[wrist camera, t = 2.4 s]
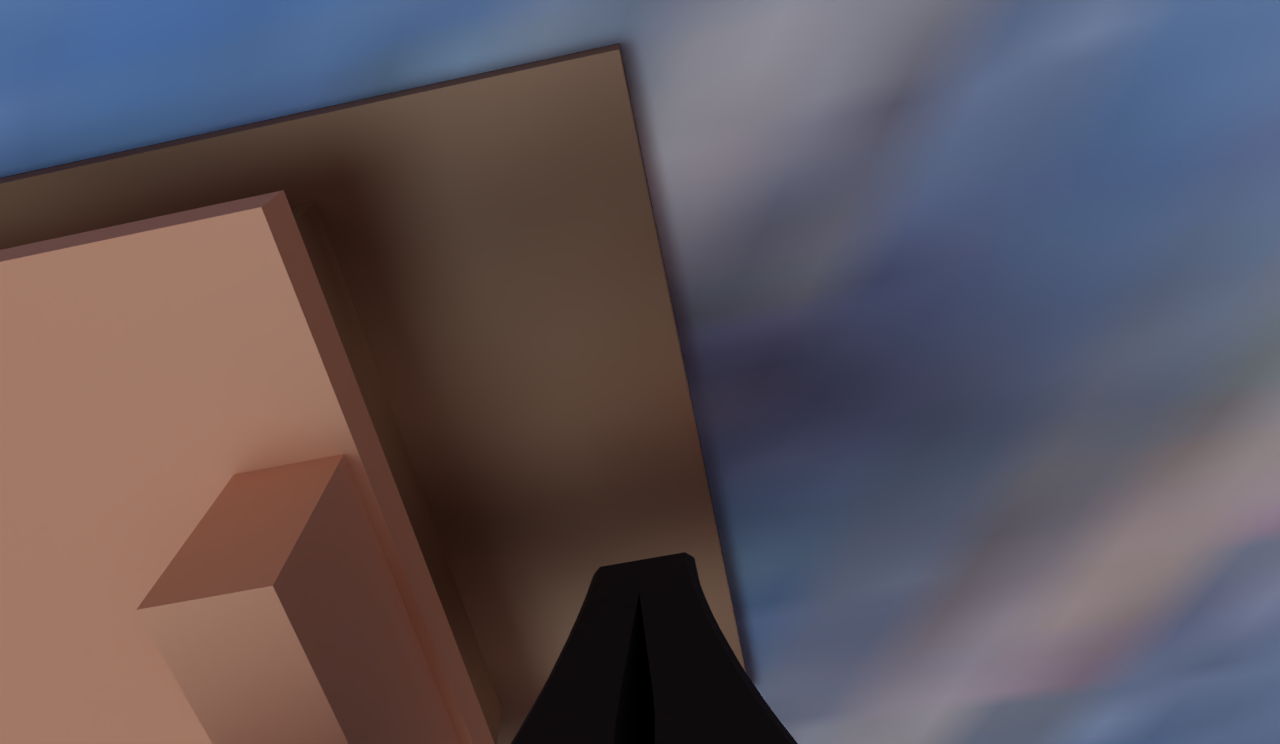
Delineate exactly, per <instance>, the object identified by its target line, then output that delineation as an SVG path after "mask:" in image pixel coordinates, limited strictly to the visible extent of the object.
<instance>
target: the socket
mask: <svg viewBox="0 0 1280 744" xmlns="http://www.w3.org/2000/svg"><path fill="white" fill-rule="evenodd" d="M282 190H284V192H285V195H286V197H287V200H288V203H289V205H290V208H291V211H292V213H293V216H294V218H295V221H296V224H297V226H298V229H299V232H300V234H301V237H302V239H303V242H304V245H305V247H306V250H307V253H308V255H309V258H310V260H311V263H312V266H313V268H314V271H315V274H316V276H317V279H318V281H319V284H320V287H321V289H322V292H323V295H324V297H325V300H326V302H327V305H328V308H329V310H330V313H331V316H332V318H333V321H334V323H335V326H336V329H337V331H338V334H339V337H340V339H341V342H342V344H343V347H344V350H345V352H346V355H347V358H348V360H349V363H350V365H351V368H352V371H353V373H354V376H355V379H356V381H357V384H358V386H359V389H360V392H361V394H362V397H363V400H364V402H365V405H366V407H367V410H368V413H369V415H370V418H371V421H372V423H373V426H374V428H375V431H376V434H377V436H378V439H379V442H380V444H381V447H382V449H383V452H384V455H385V457H386V460H387V463H388V465H389V468H390V470H391V473H392V476H393V478H394V481H395V484H396V486H397V489H398V491H399V494H400V497H401V499H402V502H403V505H404V507H405V510H406V512H407V515H408V518H409V520H410V523H411V526H412V528H413V531H414V533H415V536H416V539H417V541H418V544H419V547H420V549H421V552H422V554H423V557H424V560H425V562H426V565H427V568H428V570H429V573H430V575H431V578H432V581H433V583H434V586H435V589H436V591H437V594H438V596H439V599H440V602H441V604H442V607H443V610H444V612H445V615H446V617H447V620H448V623H449V625H450V628H451V631H452V633H453V636H454V638H455V641H456V644H457V646H458V649H459V652H460V654H461V657H462V659H463V662H464V665H465V667H466V670H467V673H468V675H469V678H470V680H471V683H472V686H473V688H474V691H475V694H476V696H477V699H478V701H479V704H480V707H481V709H482V712H483V715H484V717H485V720H486V722H487V725H488V728H489V730H490V733H491V736H492V738H493V741H494V743H495V744H511V742H512V740H513V739H514V737H515V736H516V734H517V732H518V731H519V729H520V727H521V726H522V724H523V722H524V720H525V719H526V717H527V715H528V713H529V712H530V710H531V708H532V706H533V704H534V703H535V701H536V699H537V697H538V696H539V694H540V692H541V690H542V689H543V687H544V685H545V683H546V681H547V679H548V677H549V675H550V673H551V671H552V669H553V667H554V665H555V663H556V661H557V659H558V657H559V655H560V653H561V651H562V649H563V647H564V645H565V643H566V641H567V639H568V637H569V634H570V632H571V630H572V628H573V625H574V623H575V621H576V619H577V616H578V614H579V612H580V609H581V607H582V604H583V602H584V599H585V597H586V594H587V592H588V589H589V586H590V584H591V581H592V578H593V575H594V574H595V572H596V571H597V570H598V569H599V567H602V566H608V565H614V564H619V563H625V562H631V561H637V560H643V559H648V558H654V557H660V556H666V555H672V554H677V553H683V552H686V553H687V554H689V555H691V556H692V557H694V558H695V562H696V567H697V572H698V576H699V581H700V585H701V588H702V590H703V593H704V595H705V598H706V600H707V602H708V604H709V607H710V609H711V611H712V613H713V616H714V618H715V619H716V621H717V623H718V625H719V627H720V629H721V631H722V633H723V635H724V636H725V638H726V640H727V642H728V643H729V645H730V647H731V649H732V650H733V652H734V654H735V656H736V658H737V659H738V661H739V662H740V664H741V666H742V667H743V669H744V670H745V672H746V667H745V662H744V657H743V652H742V647H741V642H740V638H739V633H738V628H737V623H736V618H735V613H734V608H733V603H732V598H731V593H730V588H729V583H728V578H727V573H726V568H725V563H724V558H723V553H722V549H721V544H720V539H719V534H718V529H717V524H716V519H715V514H714V509H713V504H712V499H711V494H710V489H709V484H708V479H707V474H706V469H705V464H704V460H703V455H702V450H701V445H700V440H699V435H698V430H697V425H696V420H695V415H694V410H693V405H692V400H691V395H690V390H689V385H688V380H687V375H686V371H685V366H684V361H683V356H682V351H681V346H680V341H679V336H678V331H677V326H676V321H675V316H674V311H673V306H672V301H671V296H670V291H669V286H668V282H667V277H666V272H665V267H664V262H663V257H662V252H661V247H660V242H659V237H658V232H657V227H656V222H655V217H654V212H653V207H652V202H651V197H650V193H649V188H648V183H647V178H646V173H645V168H644V163H643V158H642V153H641V148H640V143H639V138H638V133H637V128H636V123H635V118H634V113H633V108H632V104H631V99H630V94H629V89H628V84H627V79H626V74H625V69H624V64H623V59H622V54H621V49H620V44H615V45H610V46H606V47H601V48H596V49H592V50H587V51H583V52H578V53H573V54H569V55H564V56H560V57H555V58H550V59H546V60H541V61H537V62H532V63H527V64H523V65H518V66H514V67H509V68H504V69H500V70H495V71H491V72H486V73H481V74H477V75H472V76H468V77H463V78H458V79H454V80H449V81H445V82H440V83H435V84H431V85H426V86H422V87H417V88H413V89H408V90H403V91H399V92H394V93H390V94H385V95H380V96H376V97H371V98H367V99H362V100H357V101H353V102H348V103H344V104H339V105H334V106H330V107H325V108H321V109H316V110H311V111H307V112H302V113H298V114H293V115H288V116H284V117H279V118H275V119H270V120H265V121H261V122H256V123H252V124H247V125H242V126H238V127H233V128H229V129H224V130H219V131H215V132H210V133H206V134H201V135H196V136H192V137H187V138H183V139H178V140H173V141H169V142H164V143H160V144H155V145H150V146H146V147H141V148H137V149H132V150H127V151H123V152H118V153H114V154H109V155H104V156H100V157H95V158H91V159H86V160H81V161H77V162H72V163H68V164H63V165H58V166H54V167H49V168H45V169H40V170H35V171H31V172H26V173H22V174H17V175H13V176H8V177H3V178H0V250H2V249H7V248H12V247H16V246H21V245H26V244H31V243H35V242H40V241H45V240H50V239H54V238H59V237H64V236H69V235H73V234H78V233H83V232H88V231H92V230H97V229H102V228H106V227H111V226H116V225H121V224H125V223H130V222H135V221H140V220H144V219H149V218H154V217H159V216H163V215H168V214H173V213H178V212H182V211H187V210H192V209H196V208H201V207H206V206H211V205H215V204H220V203H225V202H230V201H234V200H239V199H244V198H249V197H253V196H258V195H263V194H267V193H272V192H277V191H282ZM746 674H747V672H746Z"/></svg>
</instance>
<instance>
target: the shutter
mask: <svg viewBox="0 0 1280 744" xmlns="http://www.w3.org/2000/svg"><path fill="white" fill-rule="evenodd" d="M0 744H495V743H494V741H493V738H492V736H491V733H490V730H489V728H488V725H487V722H486V720H485V717H484V715H483V712H482V709H481V707H480V704H479V701H478V699H477V696H476V694H475V691H474V688H473V686H472V683H471V680H470V678H469V675H468V673H467V670H466V667H465V665H464V662H463V659H462V657H461V654H460V652H459V649H458V646H457V644H456V641H455V638H454V636H453V633H452V631H451V628H450V625H449V623H448V620H447V617H446V615H445V612H444V610H443V607H442V604H441V602H440V599H439V596H438V594H437V591H436V589H435V586H434V583H433V581H432V578H431V575H430V573H429V570H428V568H427V565H426V562H425V560H424V557H423V554H422V552H421V549H420V547H419V544H418V541H417V539H416V536H415V533H414V531H413V528H412V526H411V523H410V520H409V518H408V515H407V512H406V510H405V507H404V505H403V502H402V499H401V497H400V494H399V491H398V489H397V486H396V484H395V481H394V478H393V476H392V473H391V470H390V468H389V465H388V463H387V460H386V457H385V455H384V452H383V449H382V447H381V444H380V442H379V439H378V436H377V434H376V431H375V428H374V426H373V423H372V421H371V418H370V415H369V413H368V410H367V407H366V405H365V402H364V400H363V397H362V394H361V392H360V389H359V386H358V384H357V381H356V379H355V376H354V373H353V371H352V368H351V365H350V363H349V360H348V358H347V355H346V352H345V350H344V347H343V344H342V342H341V339H340V337H339V334H338V331H337V329H336V326H335V323H334V321H333V318H332V316H331V313H330V310H329V308H328V305H327V302H326V300H325V297H324V295H323V292H322V289H321V287H320V284H319V281H318V279H317V276H316V274H315V271H314V268H313V266H312V263H311V260H310V258H309V255H308V253H307V250H306V247H305V245H304V242H303V239H302V237H301V234H300V232H299V229H298V226H297V224H296V221H295V218H294V216H293V213H292V211H291V208H290V205H289V203H288V200H287V197H286V195H285V192H284V190H282V191H277V192H272V193H267V194H263V195H258V196H253V197H249V198H244V199H239V200H234V201H230V202H225V203H220V204H215V205H211V206H206V207H201V208H196V209H192V210H187V211H182V212H178V213H173V214H168V215H163V216H159V217H154V218H149V219H144V220H140V221H135V222H130V223H125V224H121V225H116V226H111V227H106V228H102V229H97V230H92V231H88V232H83V233H78V234H73V235H69V236H64V237H59V238H54V239H50V240H45V241H40V242H35V243H31V244H26V245H21V246H16V247H12V248H7V249H2V250H0Z"/></svg>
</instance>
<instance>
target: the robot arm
mask: <svg viewBox="0 0 1280 744" xmlns="http://www.w3.org/2000/svg"><path fill="white" fill-rule="evenodd" d="M511 744H797V742H796V741H795V740H794V738H793V737H792V736H791V735H790V733H789V732H788V731H787V730H786V728H785V727H784V726H783V725H782V723H781V722H780V721H779V719H778V718H777V717H776V715H775V714H774V713H773V711H772V710H771V709H770V707H769V706H768V704H767V703H766V702H765V700H764V699H763V697H762V696H761V694H760V693H759V691H758V690H757V689H756V687H755V686H754V684H753V683H752V681H751V680H750V678H749V677H748V675H747V674H746V672H745V670H744V669H743V667H742V666H741V664H740V662H739V661H738V659H737V658H736V656H735V654H734V652H733V650H732V649H731V647H730V645H729V643H728V642H727V640H726V638H725V636H724V635H723V633H722V631H721V629H720V627H719V625H718V623H717V621H716V619H715V618H714V616H713V613H712V611H711V609H710V607H709V604H708V602H707V600H706V598H705V595H704V593H703V590H702V588H701V585H700V581H699V576H698V572H697V567H696V562H695V558H694V557H692V556H691V555H689V554H687V553H686V552H683V553H677V554H672V555H666V556H660V557H654V558H648V559H643V560H637V561H631V562H625V563H619V564H614V565H608V566H602V567H599V569H598V570H597V571H596V572H595V574H594V575H593V578H592V581H591V584H590V586H589V589H588V592H587V594H586V597H585V599H584V602H583V604H582V607H581V609H580V612H579V614H578V616H577V619H576V621H575V623H574V625H573V628H572V630H571V632H570V634H569V637H568V639H567V641H566V643H565V645H564V647H563V649H562V651H561V653H560V655H559V657H558V659H557V661H556V663H555V665H554V667H553V669H552V671H551V673H550V675H549V677H548V679H547V681H546V683H545V685H544V687H543V689H542V690H541V692H540V694H539V696H538V697H537V699H536V701H535V703H534V704H533V706H532V708H531V710H530V712H529V713H528V715H527V717H526V719H525V720H524V722H523V724H522V726H521V727H520V729H519V731H518V732H517V734H516V736H515V737H514V739H513V740H512V742H511Z"/></svg>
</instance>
